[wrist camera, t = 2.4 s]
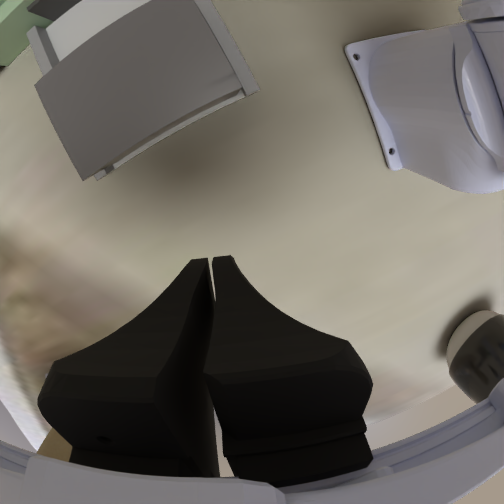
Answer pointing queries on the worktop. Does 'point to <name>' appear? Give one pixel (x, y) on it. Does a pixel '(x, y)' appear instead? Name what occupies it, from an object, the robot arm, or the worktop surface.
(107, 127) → the grey open box
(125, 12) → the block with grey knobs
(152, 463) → the robot arm
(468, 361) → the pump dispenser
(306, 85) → the worktop surface
